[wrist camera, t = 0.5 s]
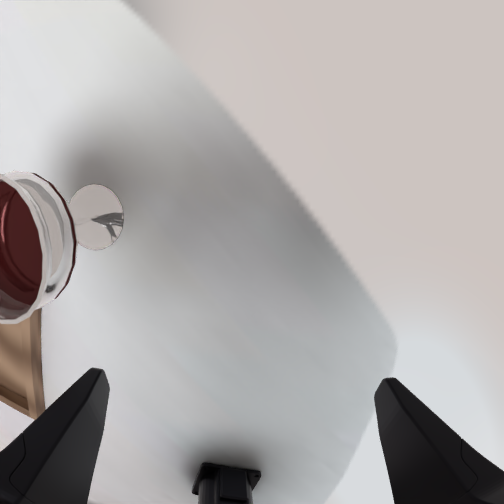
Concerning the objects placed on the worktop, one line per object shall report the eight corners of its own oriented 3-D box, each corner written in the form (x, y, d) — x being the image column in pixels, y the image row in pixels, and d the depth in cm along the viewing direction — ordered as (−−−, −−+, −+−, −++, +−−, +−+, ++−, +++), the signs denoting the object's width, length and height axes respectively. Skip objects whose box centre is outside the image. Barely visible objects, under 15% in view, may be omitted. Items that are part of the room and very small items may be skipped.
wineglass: (70, 161, 21) (-40, 156, 9) (147, 188, 21) (64, 196, 10) (50, 244, 22) (-53, 290, 10) (121, 274, 23) (41, 350, 11)
